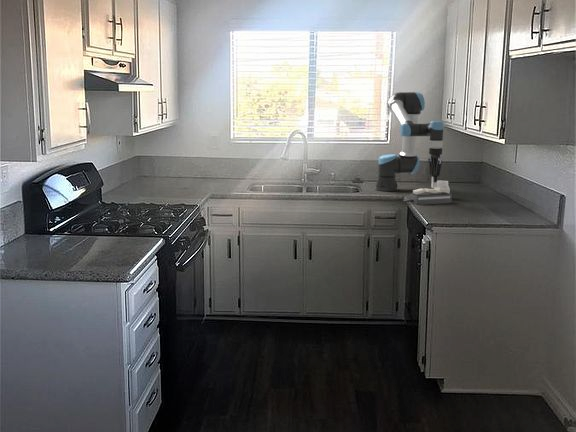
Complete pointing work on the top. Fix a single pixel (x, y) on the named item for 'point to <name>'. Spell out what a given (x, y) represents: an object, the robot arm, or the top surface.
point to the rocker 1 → (419, 191)
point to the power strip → (430, 198)
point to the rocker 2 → (431, 190)
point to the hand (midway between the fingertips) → (433, 187)
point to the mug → (442, 185)
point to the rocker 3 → (442, 190)
